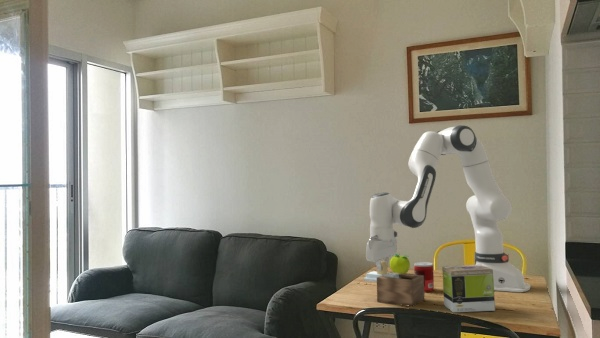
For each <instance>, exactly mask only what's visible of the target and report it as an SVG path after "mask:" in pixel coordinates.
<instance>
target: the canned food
mask: <svg viewBox="0 0 600 338" xmlns="http://www.w3.org/2000/svg"><path fill="white" fill-rule="evenodd" d="M413 265H414V267H413V268H414V270H413V271H414V275H422V276H424V293H431V292H433V291H434V289H435V286H434V283H435V282H434V281H435V280H434V278H435V277H434V263H433V262H428V261H419V262H414V264H413Z"/></svg>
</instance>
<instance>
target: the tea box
mask: <svg viewBox="0 0 600 338" xmlns="http://www.w3.org/2000/svg"><path fill="white" fill-rule="evenodd" d="M442 288H443V290H442V291H443V303H444V304H443V305H444V307H446V308H447V309H448V310H449V309H450V312H453V313H466V312H467V313H472V312H491V311H492V312H496V300H495V290H494V281H493V269H490V268H488V267H485V266H483V265H475V264H465V265H464V264H463V265H447V266H444V265H443V266H442Z"/></svg>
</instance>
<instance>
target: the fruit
mask: <svg viewBox="0 0 600 338" xmlns="http://www.w3.org/2000/svg"><path fill="white" fill-rule="evenodd" d="M408 257H409V256H408V255H406V254H405V255H400V253H399V254H398V253H396V255H393V256H391V258H390V259H389V262H388V264H389V265H388V266H389V268H390V269H391V272H393V273H403V274H408V272H409V270H410V268H411V263H410V260H409V258H408Z"/></svg>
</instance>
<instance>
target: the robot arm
mask: <svg viewBox="0 0 600 338" xmlns="http://www.w3.org/2000/svg"><path fill="white" fill-rule="evenodd" d="M454 154H457V156H458V157H459V158H460V159H459V160H460V162H461V163H460V164H461V167H462V170H463V174H464V178H465V182H466V183H467V186H468V187H469V188H470V189H471V191H472V192H473V194H474V195H471V196H470V197H469V198H468V199H467V201H466V203H465V207H466V212H467V213H468V214H469V216H470V220H471V223H472V226H473V230H474V240H475V241H474V242H475V252H474V265H483V266H485V267H488V268H490V269H493V281H494V291H498V292H511V293H525V292H528V291H530V289H531V284H529V283H526V282H525V277H524V274H523V272H522V270H520V269H518V268H517V267H516V266H515V265H513V264H512V263H510V261H509V260H510V259H509V257H510V254H507V253H505V252H504V235H503V233H502V231H501V229H500V227H499V224H498V221H502V220H506V219H507V218H509V217H510V216H511V214H512V211H513V208H512V207H513V206H512V204H511V201H510V200H509V199H508V197H506V196H505V195H504V193H503V191H502V189H501V188H500V186H499V184H498V183H497V181H496V179H495V176H494V173H493V170H492V166H491V164H490V161H489V159H490V158H489V157H488V154H487V151H486V148H485V146H484V144H483V143H482V141H481V139H479V138H477V136H476V134H475V131H474V130H473V129H472V128H471V127H470V126H468V125H456V126H450V127H447V128H445V129H442V130H439V131H437V132H436V131H433V130H430V131H429V130H428V131H426V132H424V133H422V135H421V136H420V137H419V139H418V140H417V142H416V144H415V145H414V147H413V149H412V152H411V154H410V156H409V158H408V164H407V165H408V168H409V170H410V172H411V173H412V174H413V175H415V176H416V177H417V183H416V186H415V190H414V191H413V192H414V193H413V195H412V198H411V199H410V200H400V199H399V198H396V197H394V196H393V195H391V194H390V193H389V192H378V193H375V194H373V195H371V197H370V200H369V218H370V225H369V239H368V241H367V243H366V248H365V249H366V250H365V258H366V261H368V262H373V263H374V264H375V266H376V271H381V270H383V266H382V265H381V261H382V260H383V262H387V266H388V267H389V265H388V264H389V262H390V257H393V256H396V254H398V253H397V252H398V235H399V232H398V231H397V230H395V229H393V228H394V227H393V225H399V226H405V227H409V228H412V229H416V228H419V227H420V226H422V225H423V224H424V222H425V221H426V220H427V212H428V205H429V201H430V198H431V196H432V195H431V194H432V191H433V188H434V185H435V182H436V177H437V171H436V168H437V165H438V162H439V161H440V157H441V156H446V155H454Z"/></svg>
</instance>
